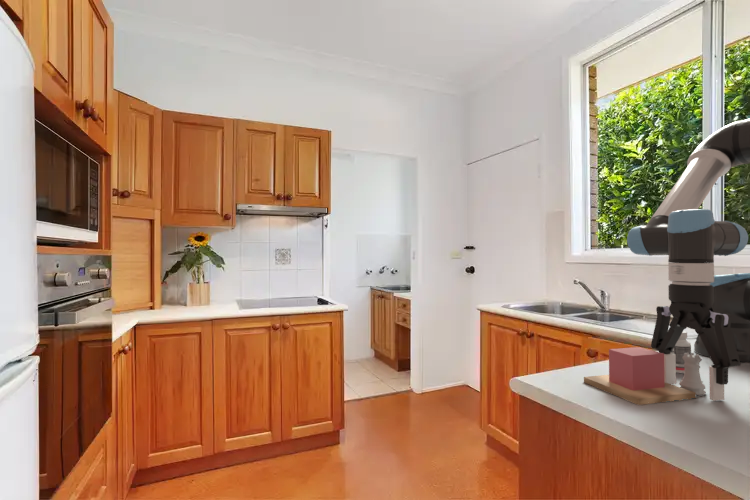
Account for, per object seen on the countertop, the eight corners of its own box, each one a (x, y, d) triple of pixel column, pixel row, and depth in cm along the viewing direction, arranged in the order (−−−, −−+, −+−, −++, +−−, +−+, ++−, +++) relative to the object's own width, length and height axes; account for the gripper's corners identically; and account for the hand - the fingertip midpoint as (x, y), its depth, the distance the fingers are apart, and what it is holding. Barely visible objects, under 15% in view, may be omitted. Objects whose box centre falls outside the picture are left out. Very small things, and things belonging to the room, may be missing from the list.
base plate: (634, 377, 93) (634, 372, 93) (695, 398, 79) (695, 392, 79) (583, 382, 90) (583, 376, 90) (638, 405, 76) (638, 398, 76)
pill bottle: (694, 371, 98) (694, 331, 98) (687, 375, 95) (686, 334, 95) (668, 366, 102) (668, 328, 102) (660, 370, 99) (660, 330, 99)
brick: (639, 378, 88) (638, 347, 88) (664, 387, 83) (664, 353, 83) (609, 381, 87) (608, 349, 87) (632, 390, 81) (632, 356, 81)
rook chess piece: (711, 396, 80) (710, 357, 80) (686, 395, 81) (685, 356, 81) (698, 389, 85) (697, 351, 85) (674, 388, 86) (673, 351, 86)
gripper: (631, 280, 93) (632, 376, 93) (735, 288, 72) (736, 413, 71) (657, 280, 95) (657, 374, 94) (766, 287, 73) (767, 409, 73)
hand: (691, 391), depth 83 cm, fingers open, 9 cm apart
